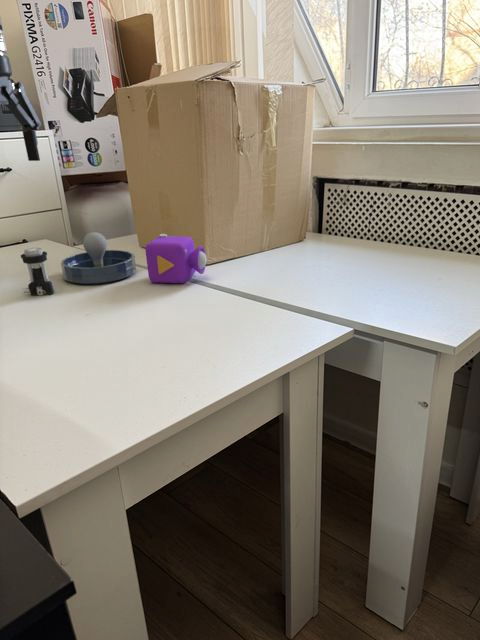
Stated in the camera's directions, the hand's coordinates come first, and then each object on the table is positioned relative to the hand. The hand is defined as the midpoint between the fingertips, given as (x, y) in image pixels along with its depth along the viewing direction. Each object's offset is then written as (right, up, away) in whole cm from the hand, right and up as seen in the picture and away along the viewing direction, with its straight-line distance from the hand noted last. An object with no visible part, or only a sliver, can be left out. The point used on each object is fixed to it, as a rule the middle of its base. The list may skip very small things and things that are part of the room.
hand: (12, 163), depth 114 cm
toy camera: (+36, -25, +7) cm, 45 cm away
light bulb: (+16, -23, +12) cm, 30 cm away
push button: (+6, -29, 0) cm, 30 cm away
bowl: (+16, -23, +12) cm, 31 cm away
